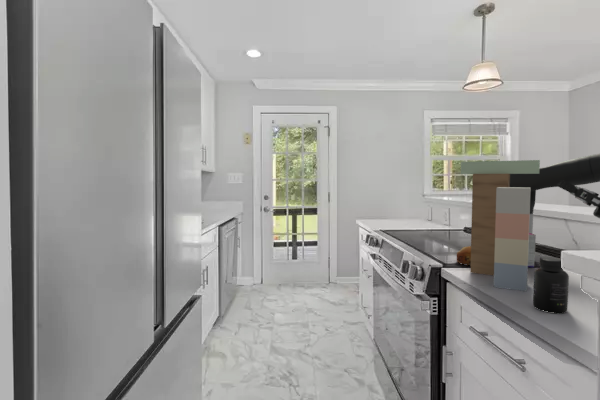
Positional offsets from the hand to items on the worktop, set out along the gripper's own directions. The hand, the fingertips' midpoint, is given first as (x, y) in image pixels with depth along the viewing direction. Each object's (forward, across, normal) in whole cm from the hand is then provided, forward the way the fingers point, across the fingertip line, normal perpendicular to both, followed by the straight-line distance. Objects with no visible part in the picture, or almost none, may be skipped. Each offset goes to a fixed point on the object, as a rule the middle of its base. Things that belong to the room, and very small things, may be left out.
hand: (559, 183), depth 113 cm
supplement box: (-7, -16, +30) cm, 35 cm away
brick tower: (-5, +14, +31) cm, 34 cm away
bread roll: (+7, -11, +38) cm, 40 cm away
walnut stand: (+1, 0, +34) cm, 34 cm away
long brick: (+15, 0, +6) cm, 16 cm away
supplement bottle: (-13, +31, +26) cm, 43 cm away
